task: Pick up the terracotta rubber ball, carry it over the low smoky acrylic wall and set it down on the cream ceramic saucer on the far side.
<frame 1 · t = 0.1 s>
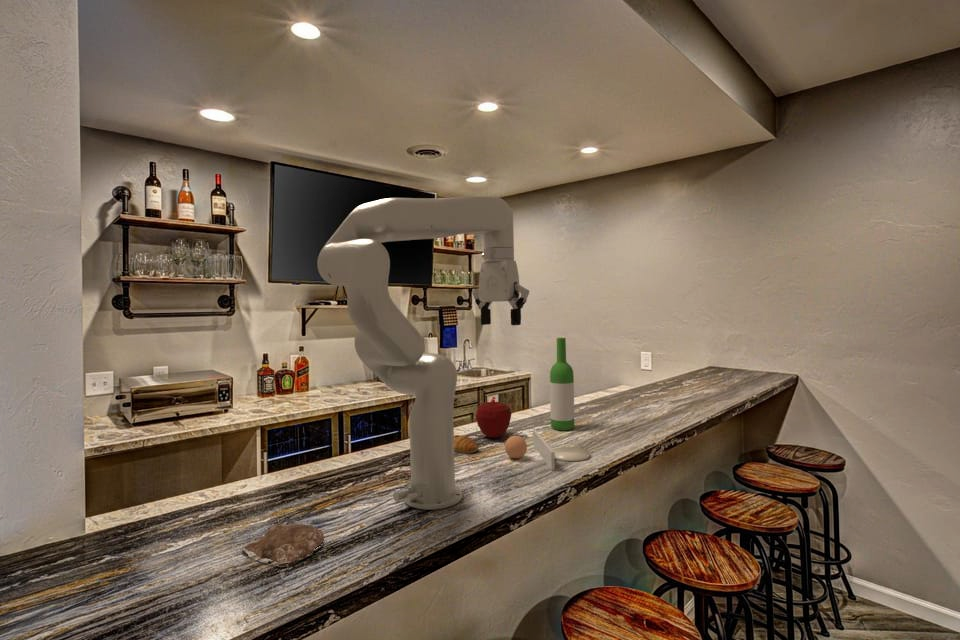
hand: (500, 324, 124), 37 cm above the counter, tool pointing down, fingers open, 9 cm apart
wine bottle: (562, 428, 164), on the counter
shell: (288, 551, 88), on the counter
wall: (543, 456, 135), on the counter
saucer: (569, 455, 136), on the counter
apple: (494, 437, 155), on the counter
pastry: (463, 450, 144), on the counter
ball: (515, 447, 134), point 3 cm above the counter
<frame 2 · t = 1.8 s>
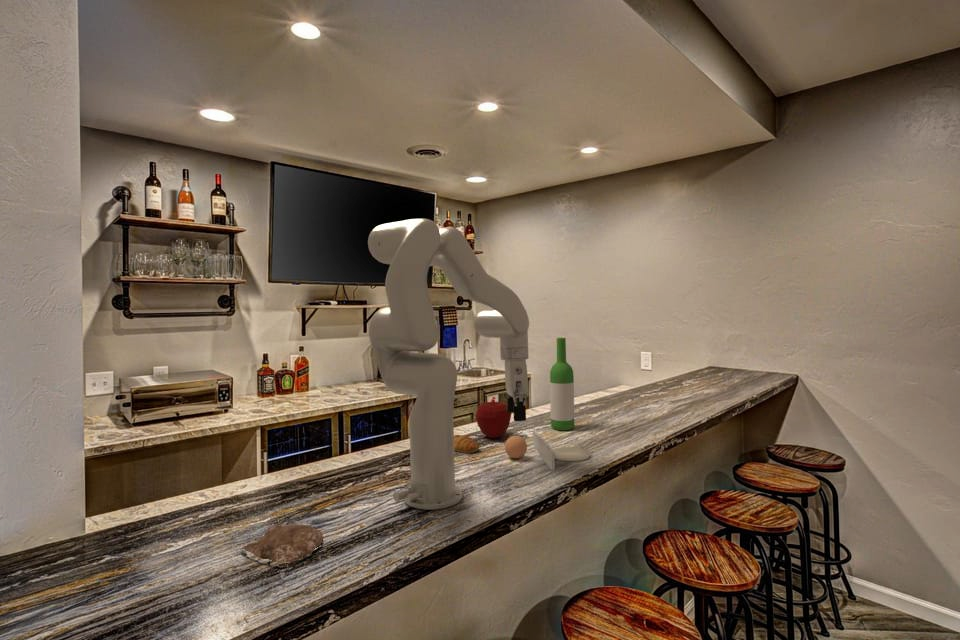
hand: (516, 416, 135), 11 cm above the counter, tool pointing down, fingers open, 9 cm apart
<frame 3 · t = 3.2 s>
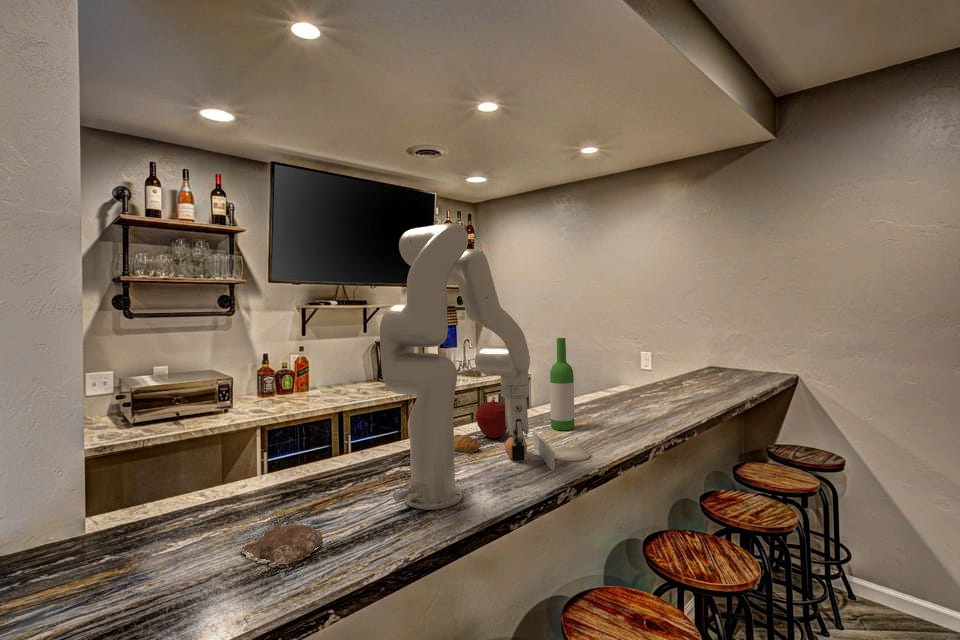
hand: (516, 455, 134), 1 cm above the counter, tool pointing down, fingers closed on ball, 5 cm apart
ball: (515, 447, 134), point 3 cm above the counter, touching gripper
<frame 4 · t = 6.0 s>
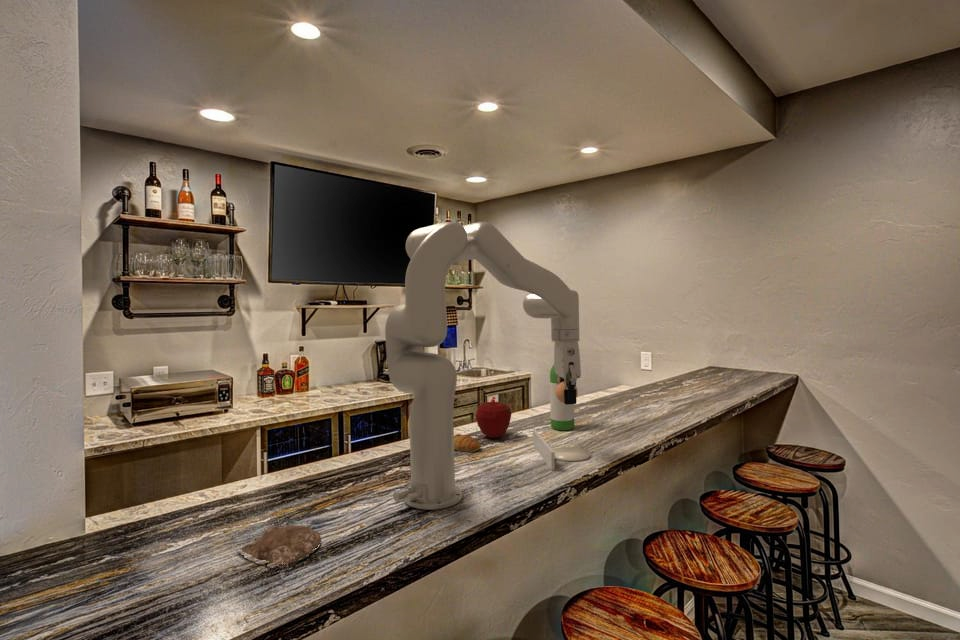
hand: (566, 400, 135), 15 cm above the counter, tool pointing down, fingers closed on ball, 5 cm apart
ball: (566, 392, 135), point 17 cm above the counter, touching gripper
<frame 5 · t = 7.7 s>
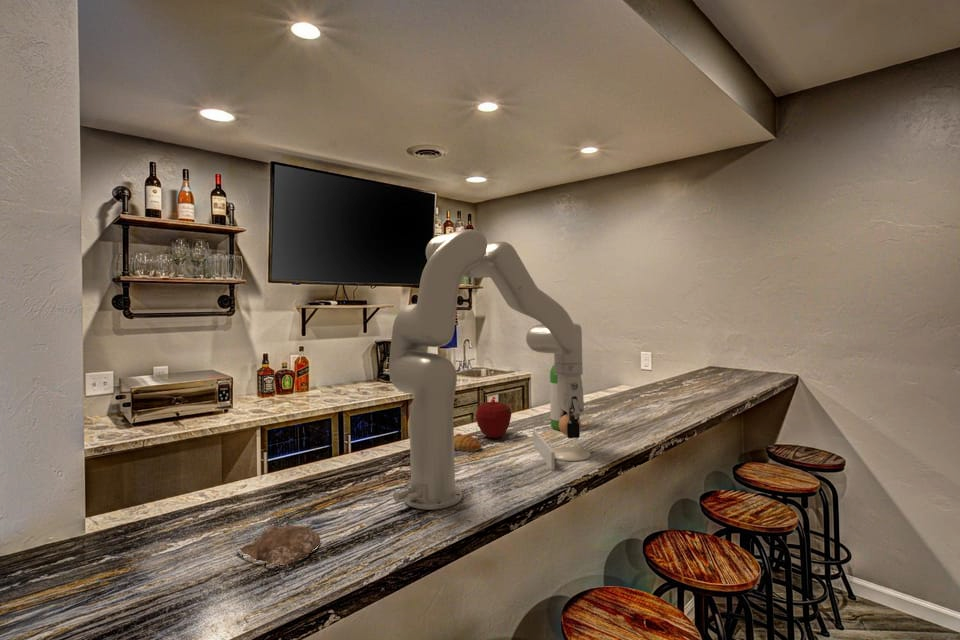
hand: (569, 433, 136), 6 cm above the counter, tool pointing down, fingers closed on ball, 5 cm apart
ball: (569, 425, 136), point 8 cm above the counter, touching gripper
when the fingers open (2 cm above the counter, at t = 8.9 s): ball drops 1 cm, resting on saucer.
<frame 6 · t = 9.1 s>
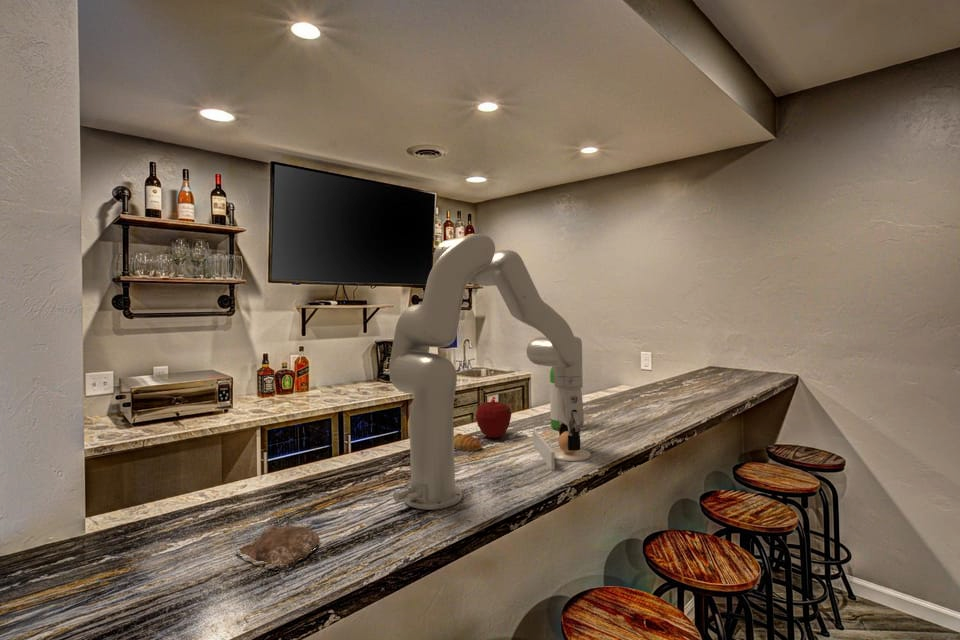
hand: (569, 445, 136), 3 cm above the counter, tool pointing down, fingers open, 8 cm apart
ball: (569, 442, 136), point 4 cm above the counter, touching saucer
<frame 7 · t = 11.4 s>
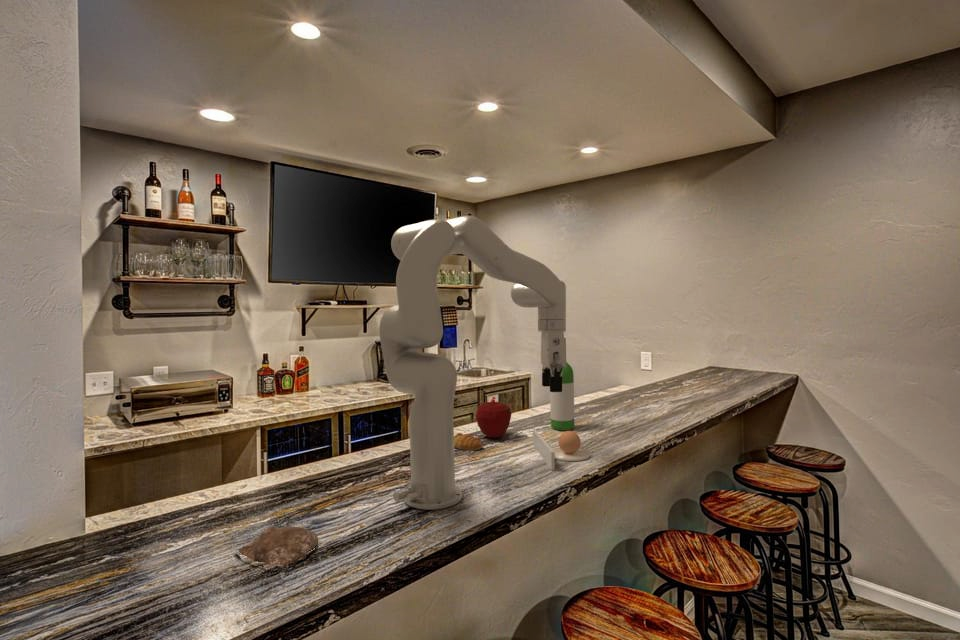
hand: (551, 388, 135), 18 cm above the counter, tool pointing down, fingers open, 9 cm apart
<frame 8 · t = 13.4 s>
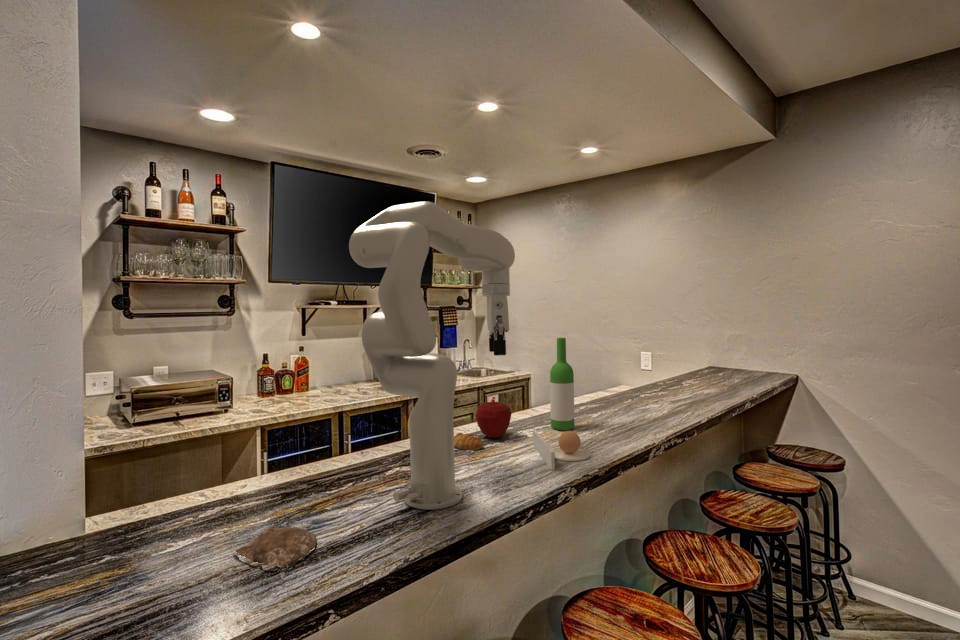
hand: (497, 353, 136), 28 cm above the counter, tool pointing down, fingers open, 9 cm apart
at the end: ball 0.1 cm from the saucer (horizontally); ball touching saucer; the gripper is holding nothing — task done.
